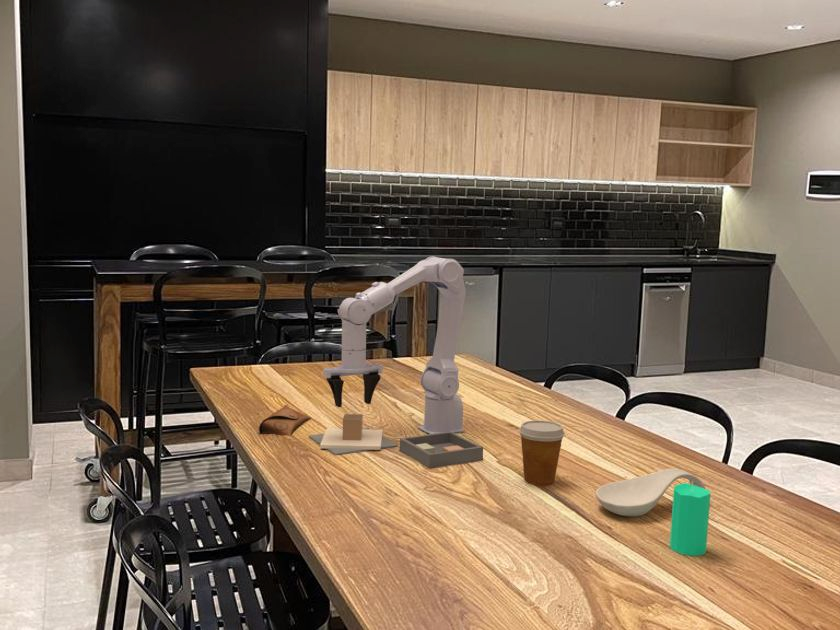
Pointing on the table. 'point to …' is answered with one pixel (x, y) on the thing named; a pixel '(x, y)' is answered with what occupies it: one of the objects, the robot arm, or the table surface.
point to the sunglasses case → (283, 422)
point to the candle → (689, 519)
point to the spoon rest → (640, 492)
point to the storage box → (441, 449)
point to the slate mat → (384, 444)
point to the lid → (352, 435)
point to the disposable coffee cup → (540, 451)
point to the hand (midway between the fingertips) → (353, 404)
